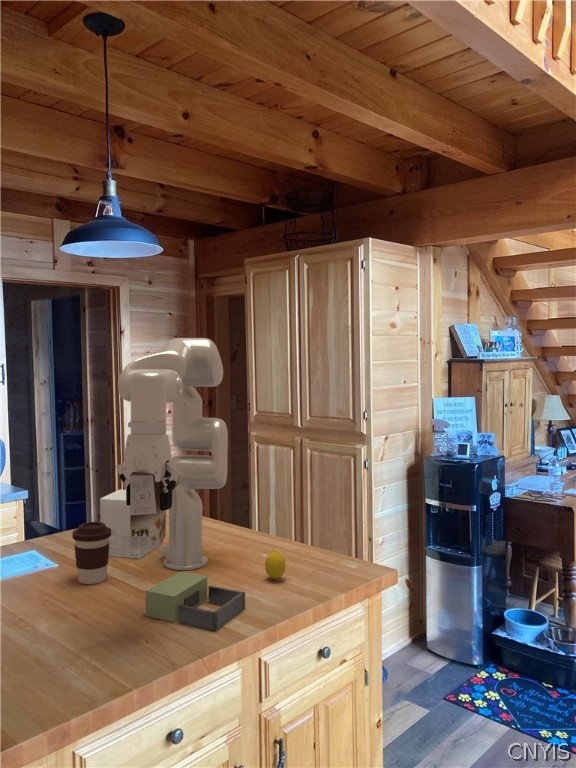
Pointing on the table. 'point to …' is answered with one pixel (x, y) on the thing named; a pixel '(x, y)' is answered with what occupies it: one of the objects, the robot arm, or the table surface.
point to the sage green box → (175, 595)
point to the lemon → (275, 565)
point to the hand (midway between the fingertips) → (148, 506)
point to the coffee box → (146, 512)
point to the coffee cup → (91, 551)
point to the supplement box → (119, 525)
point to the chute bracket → (214, 620)
